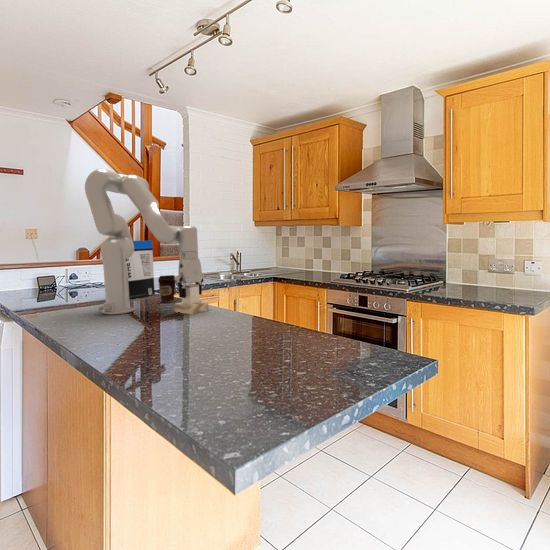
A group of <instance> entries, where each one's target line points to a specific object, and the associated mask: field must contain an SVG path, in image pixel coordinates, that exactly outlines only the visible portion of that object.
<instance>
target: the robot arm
mask: <svg viewBox="0 0 550 550" xmlns="http://www.w3.org/2000/svg"><path fill="white" fill-rule="evenodd" d="M86 177H87V178H86V179H85V183H84V193H85V196H86V199H87V202H88V204H89V208H90V211H91V214H92V219H93V221H94V224H95V227H96V230H97V232H98V233H99V234H100V235H102V236H106V237H109V238H108V239H106V240H104V241H103V242H102V244H101V246H100V258H101V262H102V267H103V279H104V295H105V296H104V297H105V302H103V304H102V305H97V306H95V310H96V311H97V312H99V311H102V314H103V315H122V314H128V313H132V312H134V309H135V308H134V307H133V306H132V307H131V304H130V302H131V301H130V299H129V283H128V269H127V264H126V260H125V259H128V258H130V257H131V256H132V255H133V253H134V244H133V241H134V240H133V237H132V234H131V232H130V228H129V224H128V223H127V221H126V219H125V218H124V217H123V216H122V215H120V214H118V213H115V210H114V208H113V204H112V201H111V198H110V197H109V196H108V193H107V192H111V193H114V194H122V195H126V196H127V197H128V198H129V199H130V201H131V202H132V204H133V205H134V206H135V208H136V209H137V210H138V212H139V213H140V214H141V216H142V220H143V221H144V223H145V225H146V226H147V228H148V230H149V232H150V233H152V235H153V237H154V238H155V239H156V240H157V241H158V242H159V243H160V244H163V245H174V244H175V245H176V244H178V245H179V254H178V256H179V260H178V261H179V262H178V271H177V272H178V274H177V276H175V278H174V280H175V286H177V289H178V294H179V295H178V297H179V298H180V299H182V298H186V288H184V287H185V285H186V284H199V296H200V295H202V293H203V292H202V285H203V283H204V279H205V274H204V273H203V271H202V270H203V269H202V264H201V260H200V258H199V249H198V248H199V245H198V244H199V243H198V240H199V239H198V229H197V227H196V226H192V225H191V226H190V225H183V226H173V225H169V224H168V222H167V221H166V220H165V218H164V217H163V215H162V214H161V212H160V209H159V208H160V207H159V206H160V203H159V201H158V199H156V197H155V196H154V195H153V193H152V192H151V191H150V184H149V182H148V181H147V179H145V178H144V177H141V176H140V175H136V174H128V175H127V174H122V173H117V172H114V171H111V170H108V169H105V168H97V169H95V170H93V171H91V172H90V173H89V175H88V176H86Z"/></svg>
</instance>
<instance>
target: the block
mask: <svg viewBox="0 0 550 550" xmlns="http://www.w3.org/2000/svg"><path fill="white" fill-rule="evenodd" d="M199 302H200V303H195V304H182V301H181V302H177V303H173V304H174V313H178V312H180V313H179V314H185V313H186V315H194V313H195V314H198V312H199V313H204V312H208V311H209V302H208V301H201V300H199ZM203 311H204V312H203Z"/></svg>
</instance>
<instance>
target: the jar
mask: <svg viewBox="0 0 550 550" xmlns="http://www.w3.org/2000/svg"><path fill="white" fill-rule="evenodd" d="M184 288H186V298H181V302H182V304H195V303H200V302H199V301H200V295H199V284H195V283H186V285H185V287H184Z"/></svg>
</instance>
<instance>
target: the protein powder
mask: <svg viewBox="0 0 550 550" xmlns="http://www.w3.org/2000/svg"><path fill="white" fill-rule="evenodd" d="M132 241H133V244H134V253H133V255H132V256H131V257H130V258H128V259H125V260H126V264H127V269H128V283H129V300H137V299H136V298H138V299H143V298H149V297H151V296H153V295H156V294H155V293H156V292H155V278H154V277H155V276H154V255H153V253H154V251H153V250H154V249H153V240H149V239H148V240H132Z"/></svg>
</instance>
